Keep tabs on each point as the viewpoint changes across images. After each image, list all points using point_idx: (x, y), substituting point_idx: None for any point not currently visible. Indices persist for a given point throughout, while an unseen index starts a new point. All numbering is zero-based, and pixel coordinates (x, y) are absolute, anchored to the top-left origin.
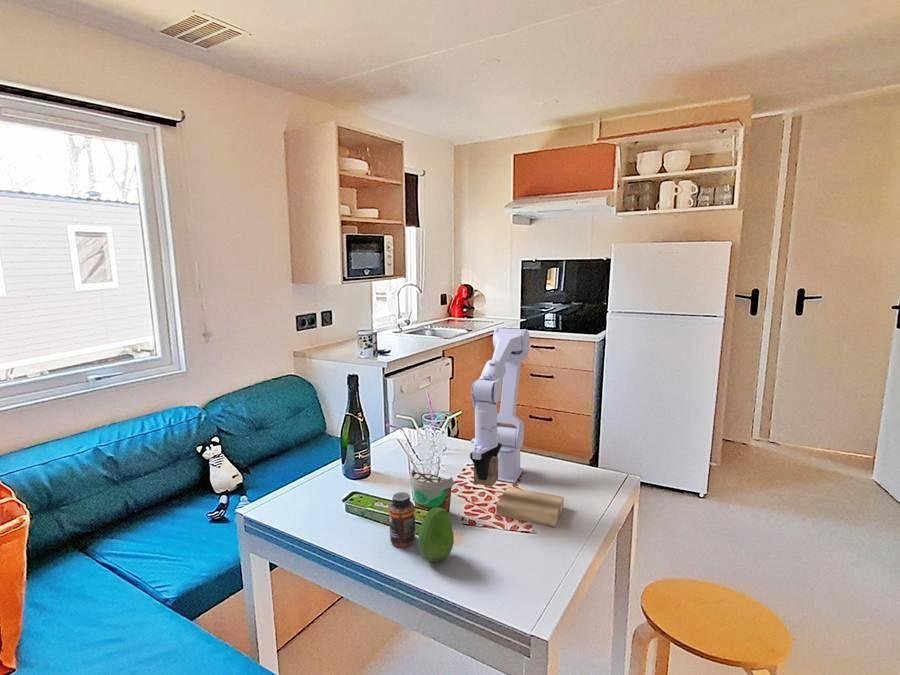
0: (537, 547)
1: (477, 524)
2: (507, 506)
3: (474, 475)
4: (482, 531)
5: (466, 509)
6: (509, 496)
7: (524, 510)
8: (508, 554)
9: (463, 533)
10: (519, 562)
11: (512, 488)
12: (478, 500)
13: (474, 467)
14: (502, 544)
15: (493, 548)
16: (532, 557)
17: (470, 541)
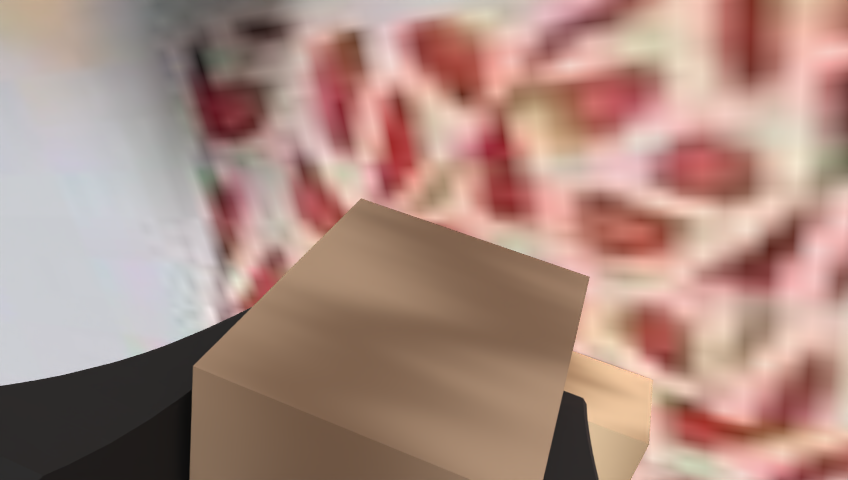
0: None
1: (223, 150)
2: None
3: (313, 253)
4: (163, 185)
5: (399, 46)
6: None
7: None
8: (41, 309)
9: (99, 62)
10: (15, 347)
11: (614, 469)
12: (572, 142)
13: (251, 317)
14: (97, 289)
15: (49, 243)
16: None
17: (48, 117)
